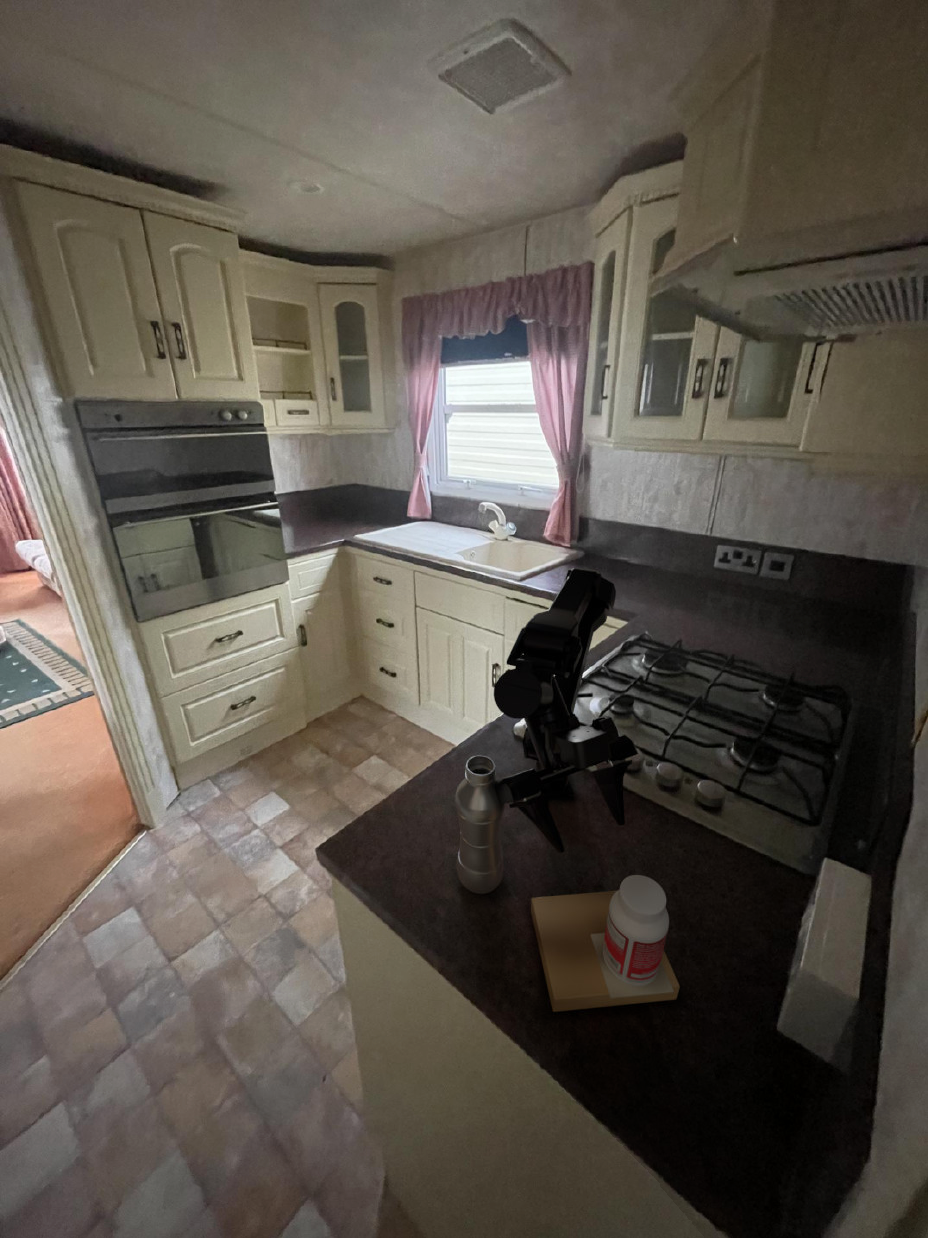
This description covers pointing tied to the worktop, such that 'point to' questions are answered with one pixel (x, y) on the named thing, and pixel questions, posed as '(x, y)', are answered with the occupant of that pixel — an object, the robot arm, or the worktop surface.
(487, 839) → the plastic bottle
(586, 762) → the robot arm
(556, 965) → the labeled cardboard parcel
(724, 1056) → the worktop surface
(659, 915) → the pill bottle
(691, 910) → the worktop surface
